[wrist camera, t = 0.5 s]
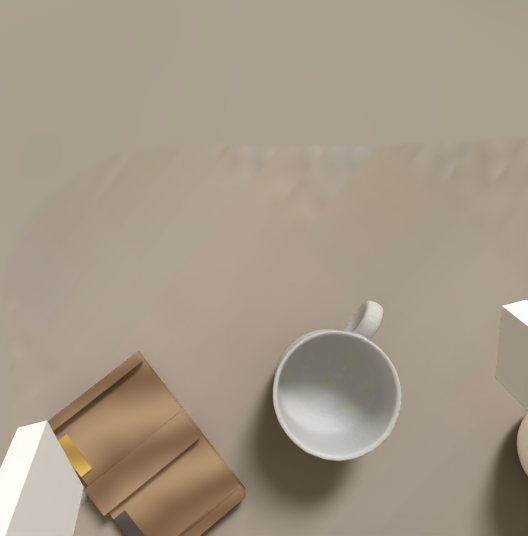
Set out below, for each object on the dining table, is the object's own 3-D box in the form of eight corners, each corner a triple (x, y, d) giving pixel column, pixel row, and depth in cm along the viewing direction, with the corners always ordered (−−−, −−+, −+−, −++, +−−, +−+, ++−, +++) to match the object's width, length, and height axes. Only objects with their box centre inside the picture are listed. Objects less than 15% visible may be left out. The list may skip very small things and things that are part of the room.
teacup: (330, 454, 44) (351, 489, 36) (244, 388, 44) (247, 408, 36) (411, 343, 45) (448, 352, 37) (328, 278, 45) (348, 274, 37)
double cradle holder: (245, 488, 43) (245, 497, 41) (154, 563, 42) (150, 576, 40) (138, 351, 43) (134, 354, 41) (46, 423, 42) (37, 429, 40)
